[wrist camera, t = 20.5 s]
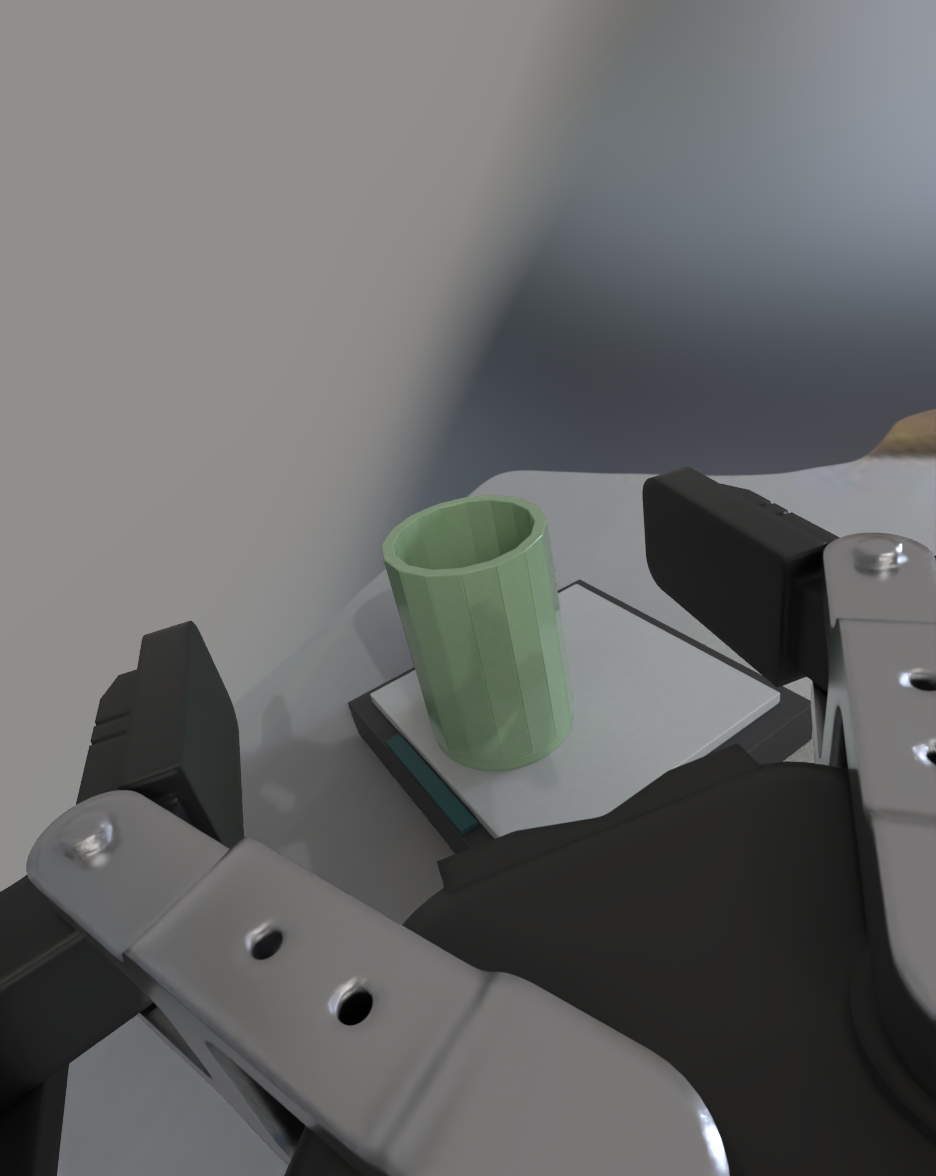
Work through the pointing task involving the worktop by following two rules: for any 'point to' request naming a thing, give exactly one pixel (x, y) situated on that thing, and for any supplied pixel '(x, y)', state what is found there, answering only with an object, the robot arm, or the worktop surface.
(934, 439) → the worktop surface
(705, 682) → the scale
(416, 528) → the tumbler
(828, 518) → the worktop surface
